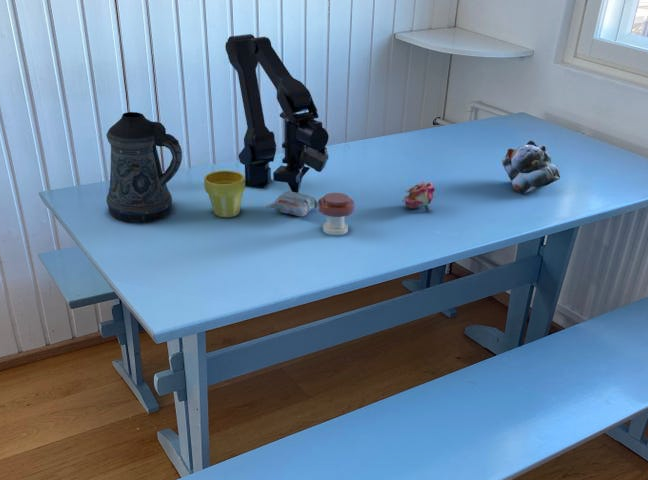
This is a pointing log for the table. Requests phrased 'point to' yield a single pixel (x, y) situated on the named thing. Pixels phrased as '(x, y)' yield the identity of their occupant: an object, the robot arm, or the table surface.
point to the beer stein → (140, 169)
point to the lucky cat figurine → (530, 167)
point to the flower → (419, 196)
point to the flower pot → (225, 191)
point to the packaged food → (294, 203)
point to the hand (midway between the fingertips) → (295, 195)
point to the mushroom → (335, 212)
